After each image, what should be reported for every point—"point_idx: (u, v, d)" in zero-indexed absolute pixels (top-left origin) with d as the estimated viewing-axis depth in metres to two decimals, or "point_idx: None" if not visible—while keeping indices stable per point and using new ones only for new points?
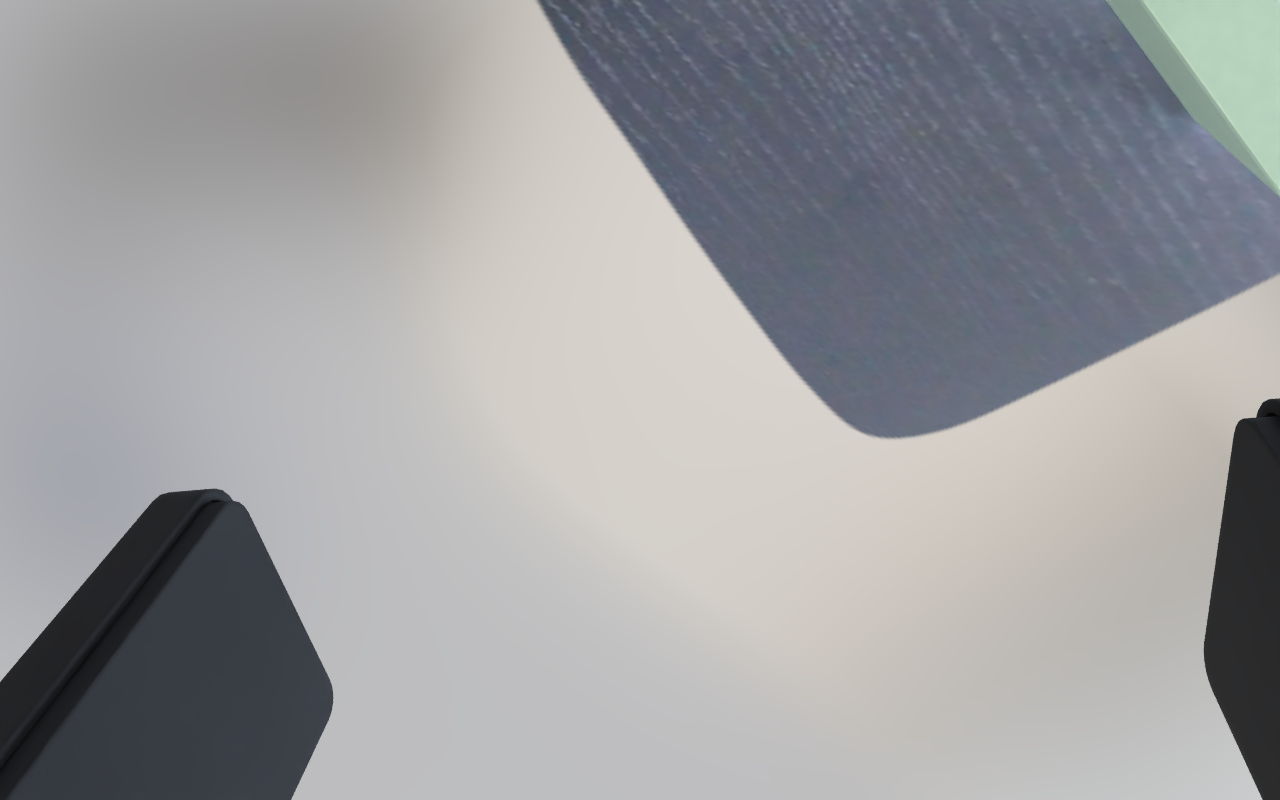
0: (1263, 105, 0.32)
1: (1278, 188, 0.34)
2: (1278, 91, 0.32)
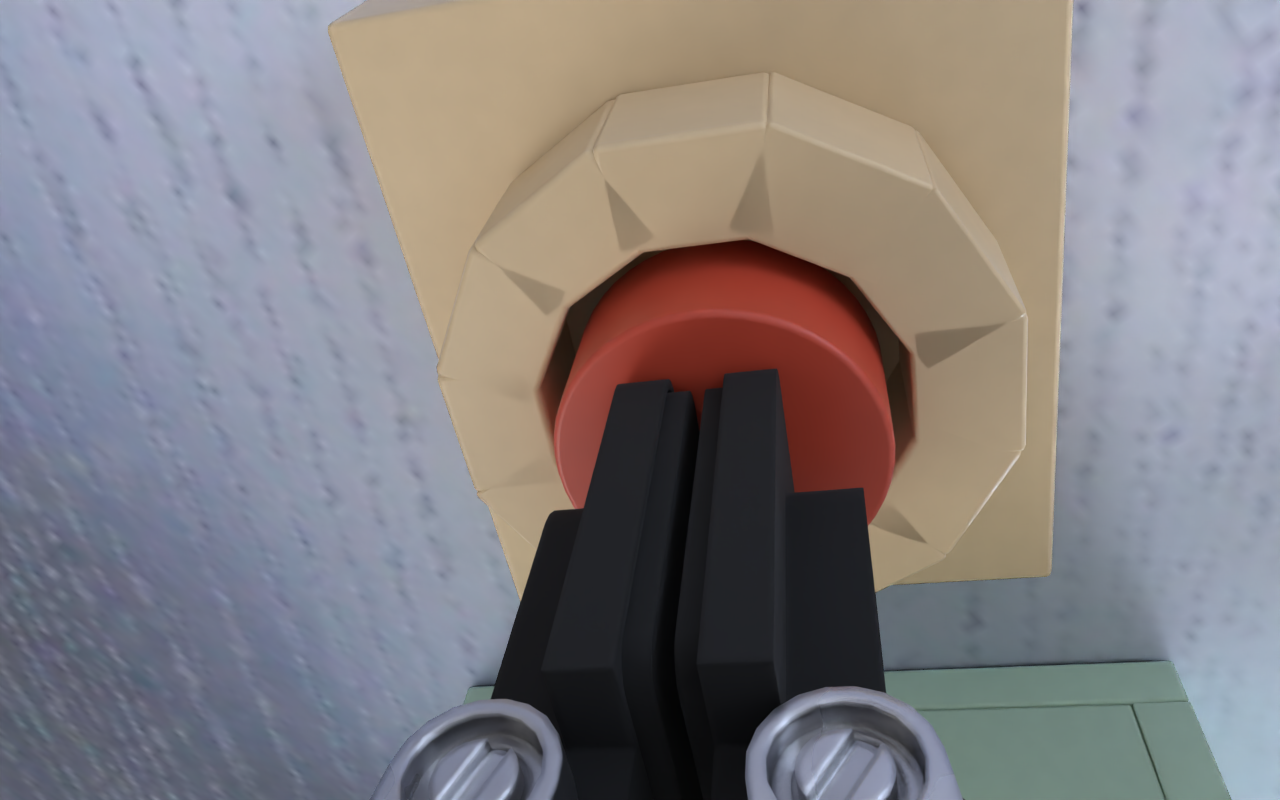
0: None
1: None
2: None
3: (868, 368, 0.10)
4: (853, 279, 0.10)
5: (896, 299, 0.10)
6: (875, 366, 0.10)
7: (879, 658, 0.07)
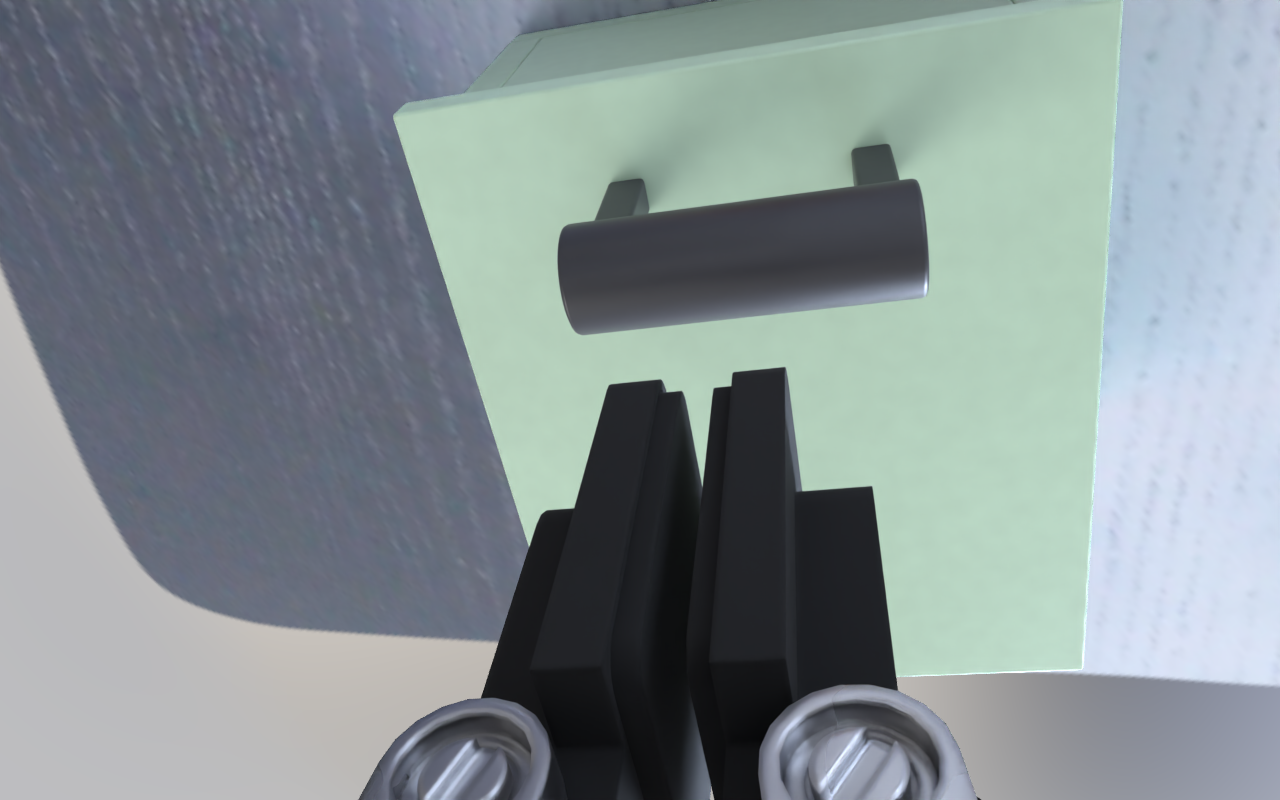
0: None
1: None
2: None
3: None
4: None
5: None
6: None
7: (890, 656, 0.07)
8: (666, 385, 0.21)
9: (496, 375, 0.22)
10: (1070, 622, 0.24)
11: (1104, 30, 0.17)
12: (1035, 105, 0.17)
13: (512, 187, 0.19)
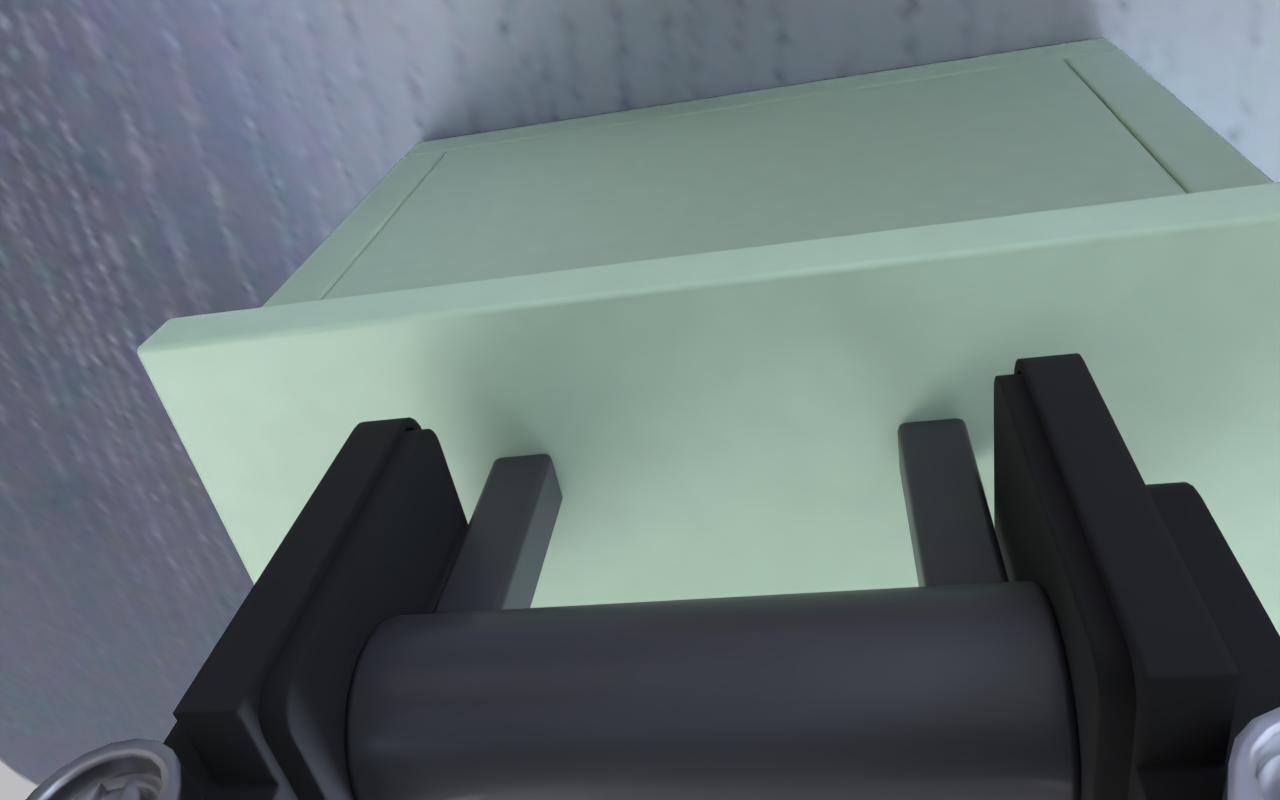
0: None
1: None
2: None
3: None
4: None
5: None
6: None
7: None
8: None
9: None
10: None
11: None
12: (1225, 368, 0.10)
13: None
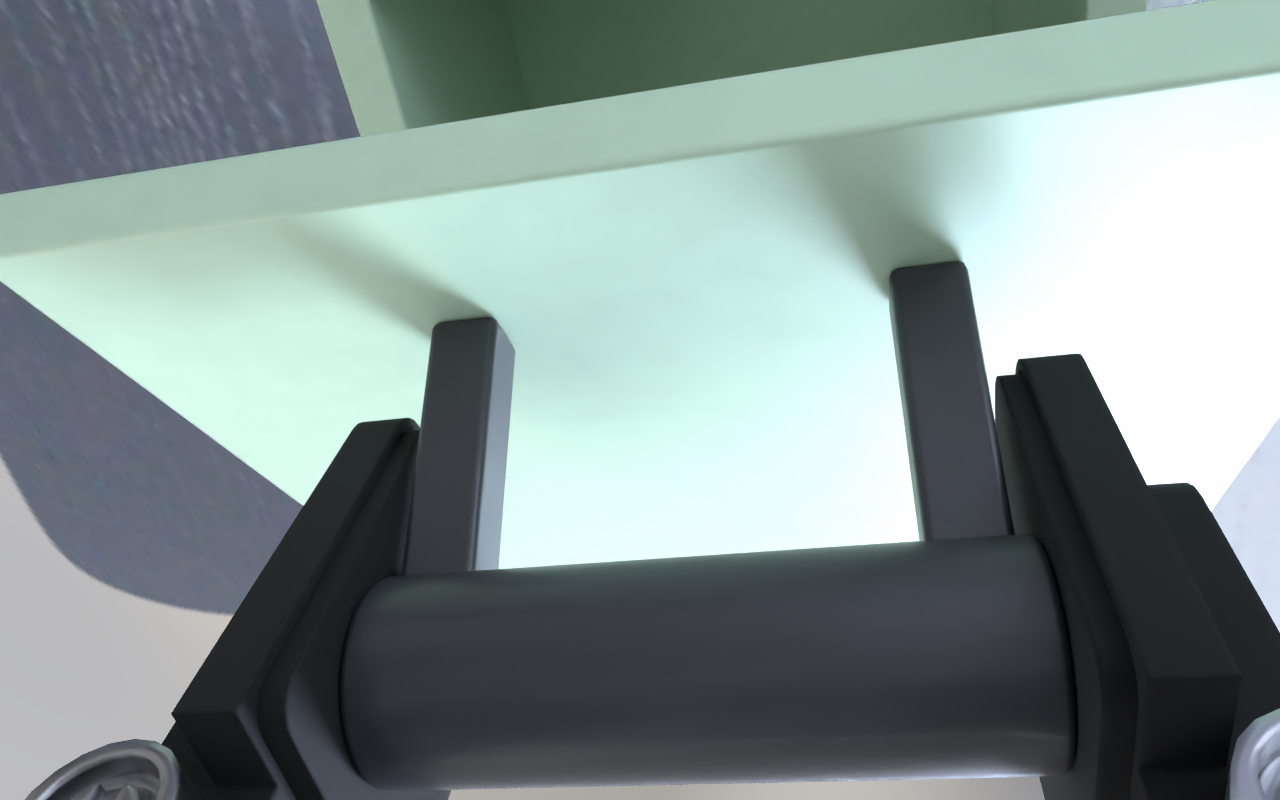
0: None
1: None
2: None
3: None
4: None
5: None
6: None
7: None
8: (583, 493, 0.14)
9: None
10: None
11: None
12: (1276, 199, 0.08)
13: (256, 333, 0.10)
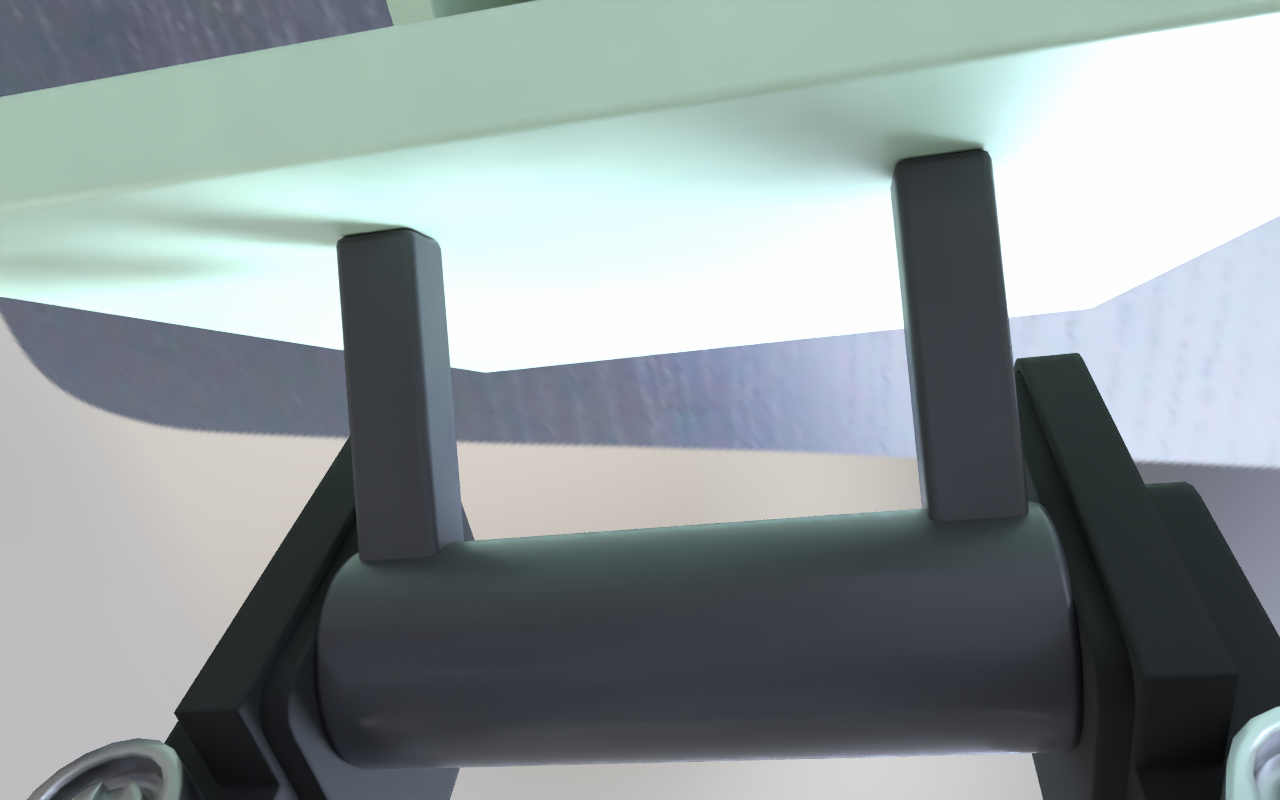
0: (461, 355, 0.19)
1: None
2: (486, 352, 0.18)
3: None
4: None
5: None
6: None
7: None
8: (536, 300, 0.13)
9: (248, 326, 0.13)
10: (1094, 299, 0.18)
11: None
12: None
13: (121, 260, 0.09)
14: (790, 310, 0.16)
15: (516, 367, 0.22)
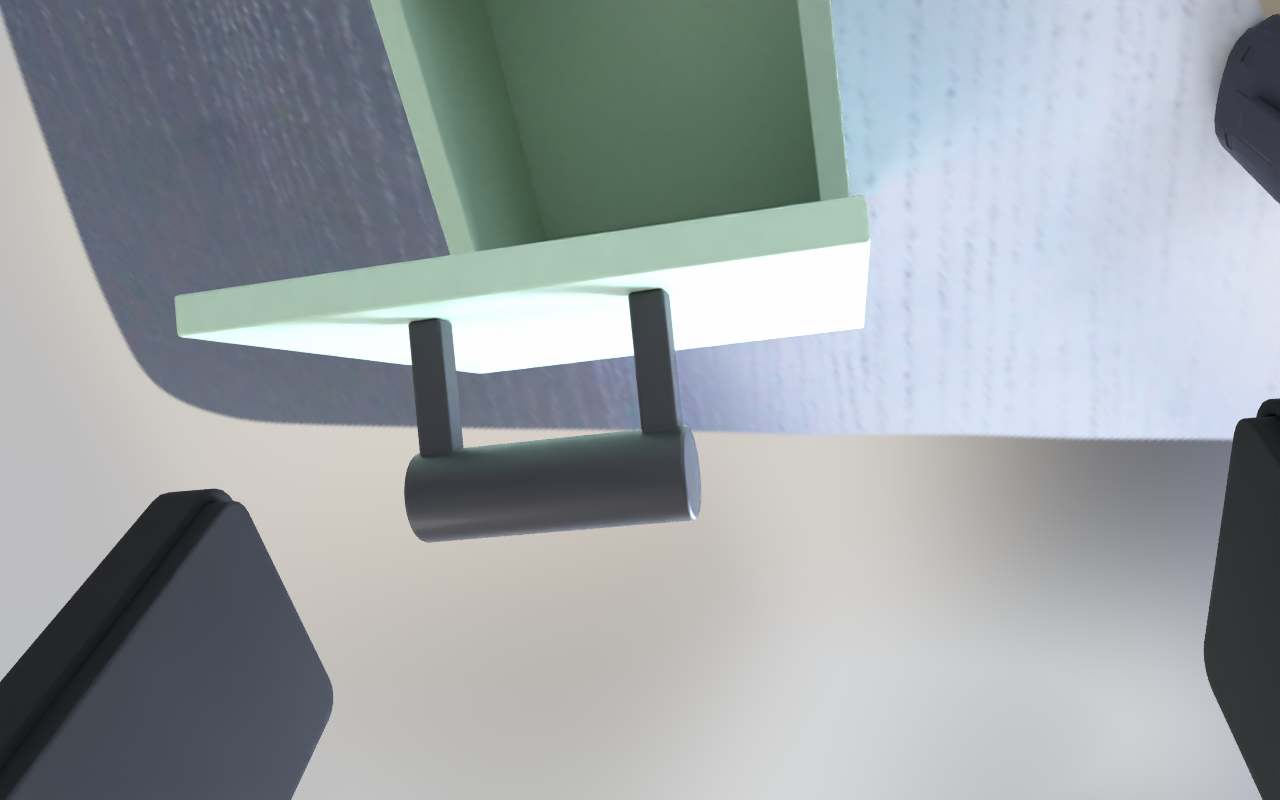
0: (463, 364, 0.30)
1: None
2: (479, 362, 0.30)
3: None
4: None
5: None
6: None
7: None
8: (501, 337, 0.24)
9: (351, 353, 0.25)
10: (851, 324, 0.30)
11: (853, 249, 0.17)
12: (793, 267, 0.18)
13: (317, 332, 0.20)
14: None
15: (500, 370, 0.34)
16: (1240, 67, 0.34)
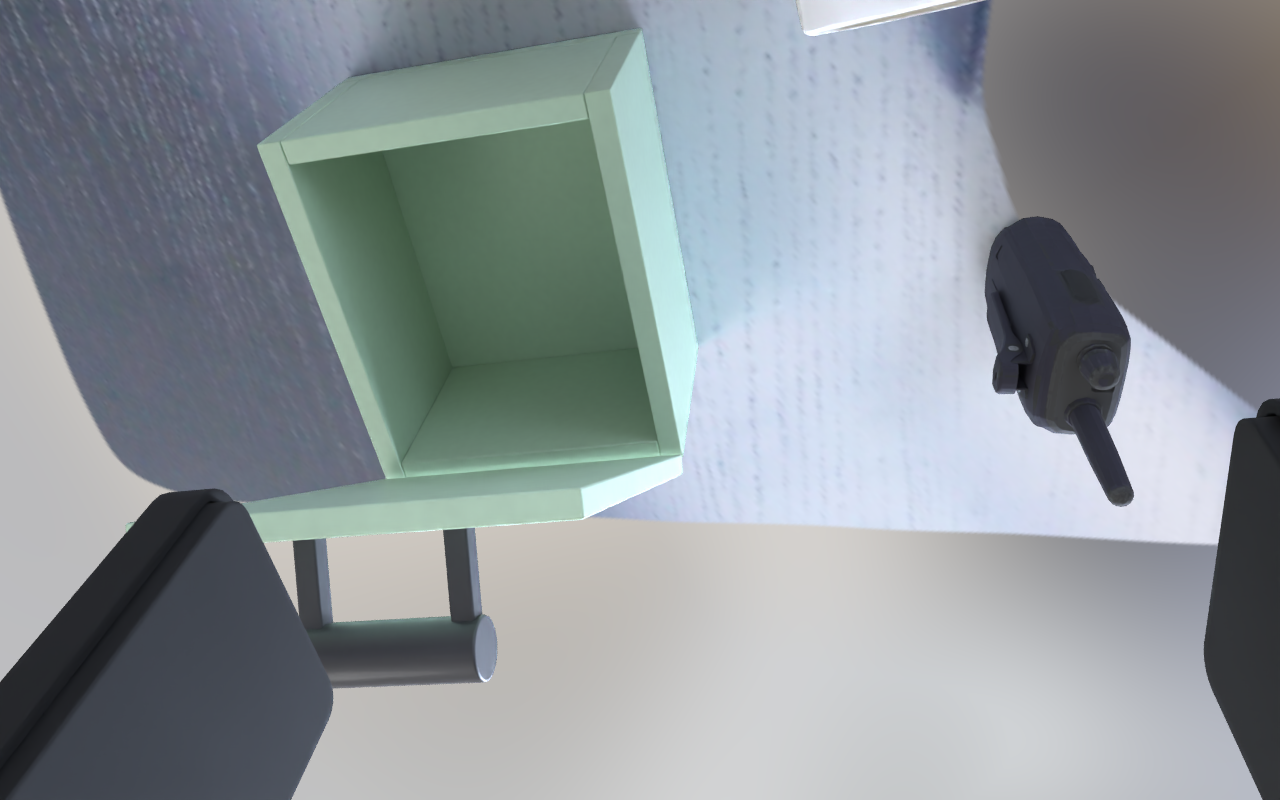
0: None
1: None
2: None
3: None
4: None
5: None
6: None
7: None
8: None
9: None
10: None
11: None
12: None
13: None
14: None
15: None
16: (995, 261, 0.42)
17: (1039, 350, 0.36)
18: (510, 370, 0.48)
